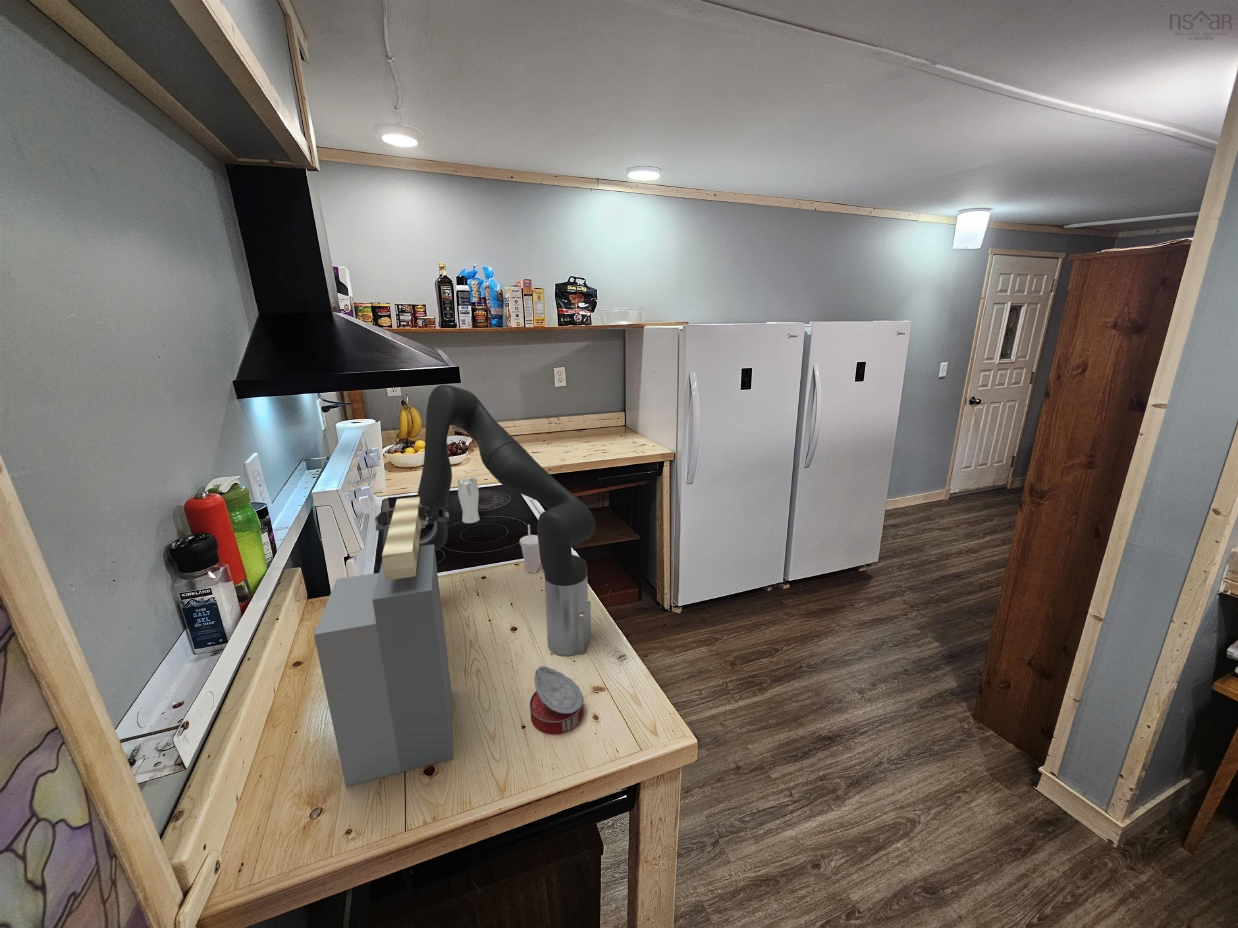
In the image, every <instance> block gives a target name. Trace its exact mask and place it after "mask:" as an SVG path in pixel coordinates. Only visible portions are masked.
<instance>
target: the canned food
mask: <svg viewBox="0 0 1238 928" xmlns="http://www.w3.org/2000/svg"><path fill="white" fill-rule="evenodd" d="M533 679H534V681H533V682H534V686H535V687H534V688H535V692H533V694H532V696H531V697H530V700H529V711H530V722H531V724H532V726H533V727H534V729H536V730H537V731H538V732H540V733H543V734H546V735H549V736H550V735H553V736H557V735H558V736H559V735H564V734H566V733H568V732H572V730H574V729H575V728H576V727H578V726H579V725H580V723H581V722H582V719H583V717H584V696H583V692H582V691H581V690H580V687H579V685H578V684H576V682H574V680H573V679H571V678H570V677H568V676H566V675H565V674H564V673H562V672H559V671H558V670H555V669H554V668H549V667H548V666H539V667H538V668H537V669H536V670H535V673H534V678H533Z"/></svg>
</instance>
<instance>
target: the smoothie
mask: <svg viewBox="0 0 1238 928" xmlns="http://www.w3.org/2000/svg"><path fill="white" fill-rule="evenodd" d="M527 529H528V530H527V534H528V535H524V536H523V537H521V538H520V539H519V545H520V546H521V547H520V548H521V552H522V556H523V557H522V558H523V562H524V566H525V567H524V568H525V571H526V572H527V573H528V572H535V571H537V570H538V569H539V570H540V564H541V561H540V553H539V544H538V535H535V534H531V525H530V524H528V525H527ZM537 572H538V571H537ZM535 573H536V572H535Z"/></svg>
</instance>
